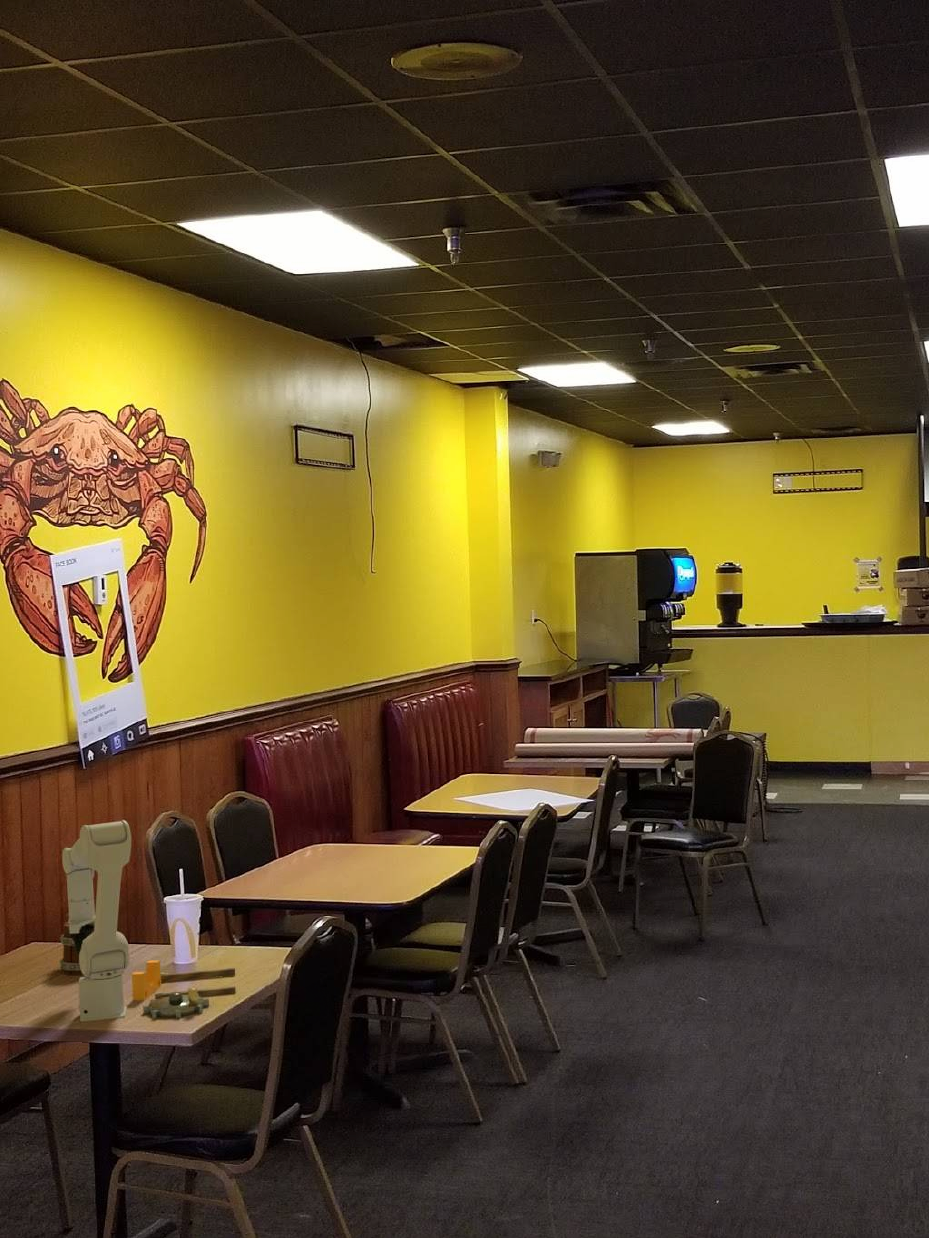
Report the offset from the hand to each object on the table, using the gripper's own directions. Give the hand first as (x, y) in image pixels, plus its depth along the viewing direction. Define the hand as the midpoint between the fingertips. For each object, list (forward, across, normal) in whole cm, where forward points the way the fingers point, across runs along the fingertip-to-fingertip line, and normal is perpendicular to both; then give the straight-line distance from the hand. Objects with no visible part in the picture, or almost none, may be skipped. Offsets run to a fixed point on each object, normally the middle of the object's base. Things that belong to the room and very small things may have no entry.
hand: (84, 957), depth 332 cm
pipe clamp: (+10, +1, -13) cm, 16 cm away
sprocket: (+9, -14, -24) cm, 29 cm away
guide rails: (+9, +4, -25) cm, 27 cm away
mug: (+10, +28, +9) cm, 31 cm away
